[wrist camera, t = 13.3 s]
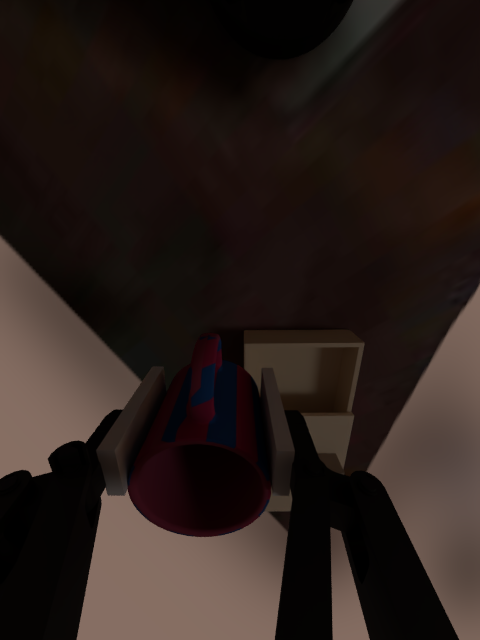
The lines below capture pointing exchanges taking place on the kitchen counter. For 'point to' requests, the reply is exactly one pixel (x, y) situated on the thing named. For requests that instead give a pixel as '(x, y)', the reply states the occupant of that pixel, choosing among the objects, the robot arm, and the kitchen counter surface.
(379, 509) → the robot arm
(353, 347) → the beige open box
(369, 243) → the kitchen counter surface
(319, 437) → the lid
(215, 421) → the mug
